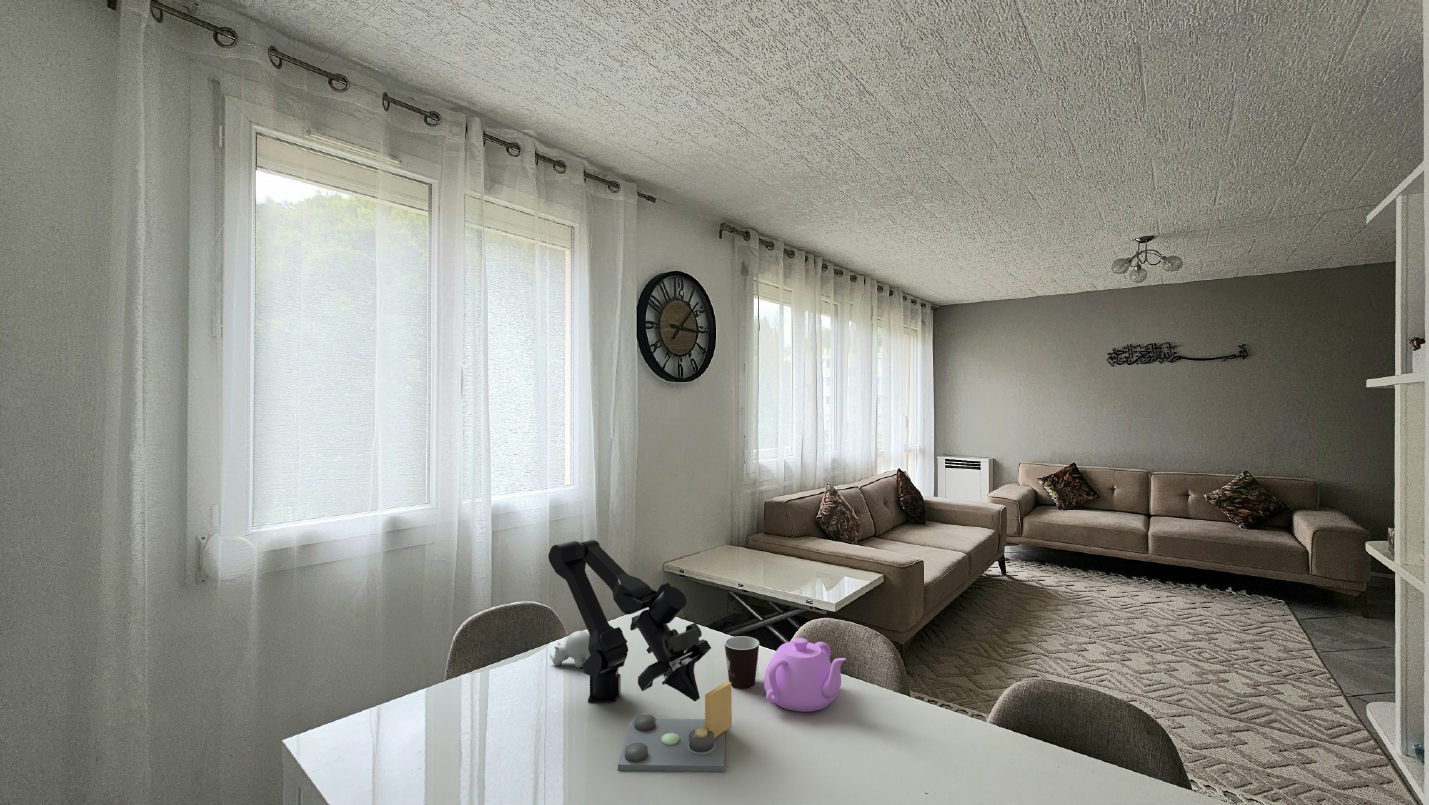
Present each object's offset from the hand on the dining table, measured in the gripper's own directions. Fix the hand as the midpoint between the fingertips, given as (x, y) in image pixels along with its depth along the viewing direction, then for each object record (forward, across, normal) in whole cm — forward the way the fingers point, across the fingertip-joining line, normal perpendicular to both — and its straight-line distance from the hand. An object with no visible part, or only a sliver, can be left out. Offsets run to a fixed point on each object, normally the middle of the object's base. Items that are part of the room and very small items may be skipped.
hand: (697, 700), depth 125 cm
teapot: (+14, +26, -3) cm, 30 cm away
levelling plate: (+4, -6, +6) cm, 9 cm away
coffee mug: (+1, +26, +10) cm, 28 cm away
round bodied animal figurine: (-29, +8, +40) cm, 50 cm away
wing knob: (+7, -1, +1) cm, 8 cm away
